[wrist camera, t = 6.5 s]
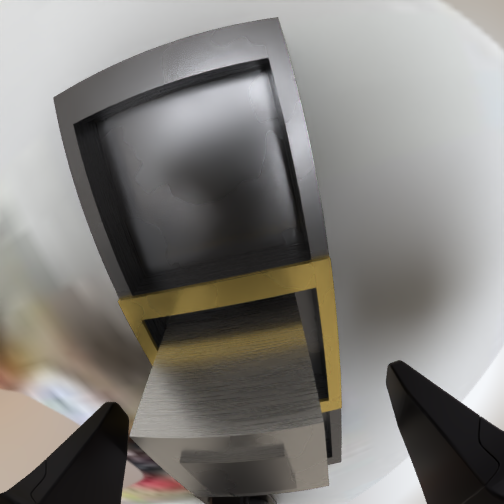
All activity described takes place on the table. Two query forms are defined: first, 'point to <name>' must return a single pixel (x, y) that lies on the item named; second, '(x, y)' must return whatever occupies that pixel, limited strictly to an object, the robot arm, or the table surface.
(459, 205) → the table surface
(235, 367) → the block
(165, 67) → the rail
